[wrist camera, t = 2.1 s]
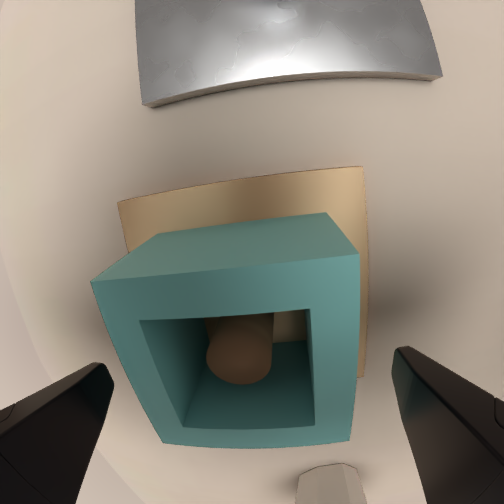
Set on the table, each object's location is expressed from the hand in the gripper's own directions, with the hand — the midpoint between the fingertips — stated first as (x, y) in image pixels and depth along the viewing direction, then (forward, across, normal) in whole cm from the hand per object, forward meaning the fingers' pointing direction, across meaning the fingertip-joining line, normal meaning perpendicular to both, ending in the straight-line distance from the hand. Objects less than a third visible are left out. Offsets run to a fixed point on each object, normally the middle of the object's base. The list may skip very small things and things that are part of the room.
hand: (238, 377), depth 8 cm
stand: (+5, 0, 0) cm, 5 cm away
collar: (+5, 0, 0) cm, 5 cm away
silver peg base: (+5, -3, -15) cm, 16 cm away
